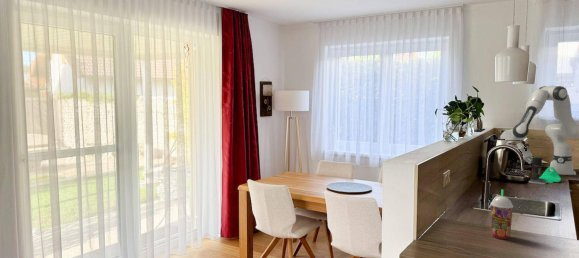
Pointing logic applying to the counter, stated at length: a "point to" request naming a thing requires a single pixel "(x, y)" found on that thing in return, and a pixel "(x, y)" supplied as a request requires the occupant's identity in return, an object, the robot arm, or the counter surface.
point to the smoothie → (501, 216)
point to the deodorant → (536, 167)
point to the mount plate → (538, 181)
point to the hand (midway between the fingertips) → (532, 162)
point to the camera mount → (550, 175)
